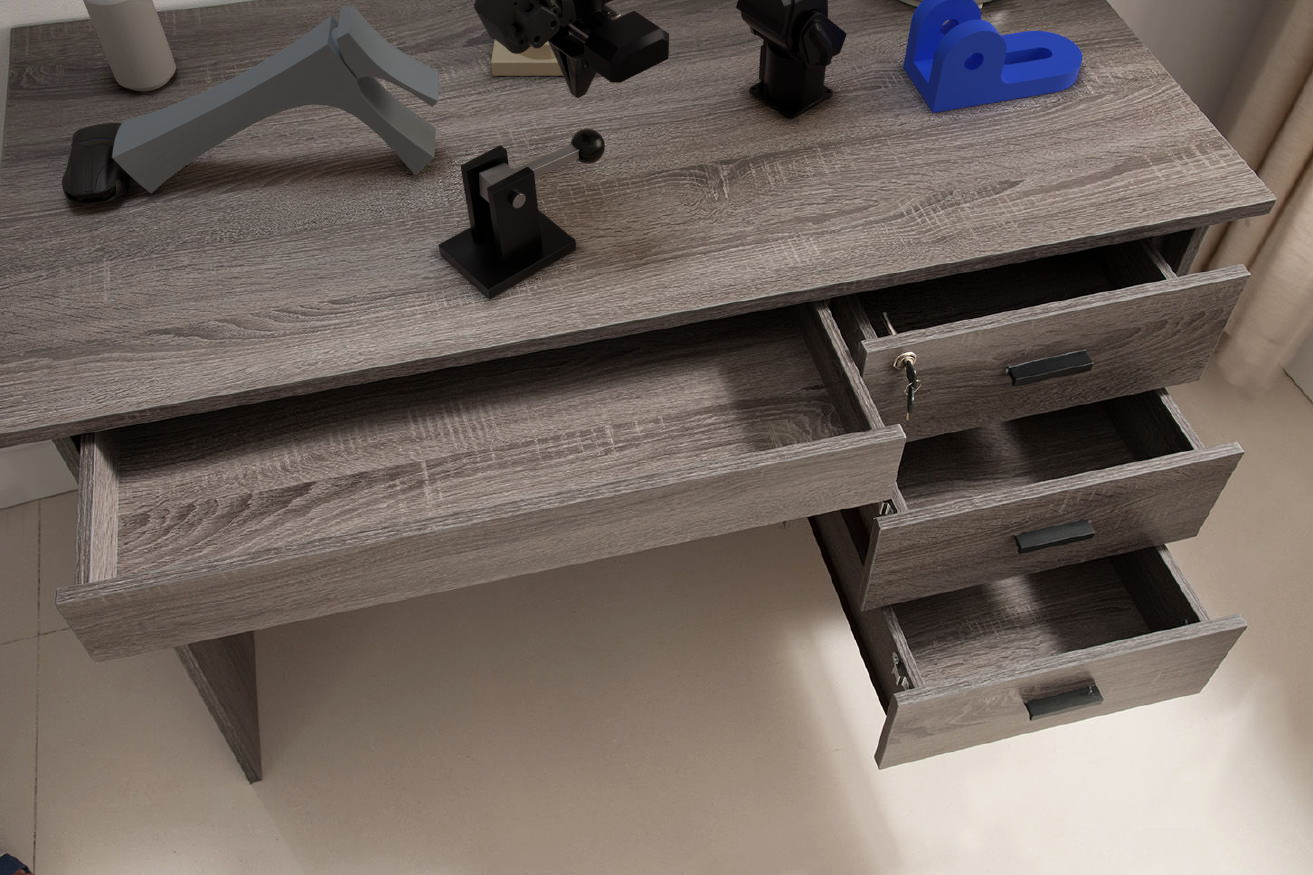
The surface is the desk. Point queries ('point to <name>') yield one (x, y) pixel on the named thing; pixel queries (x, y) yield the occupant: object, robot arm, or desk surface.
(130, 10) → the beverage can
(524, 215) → the lever switch
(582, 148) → the lever handle
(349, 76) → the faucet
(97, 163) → the black computer mouse
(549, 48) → the button box
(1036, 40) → the bracket
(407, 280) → the desk surface
